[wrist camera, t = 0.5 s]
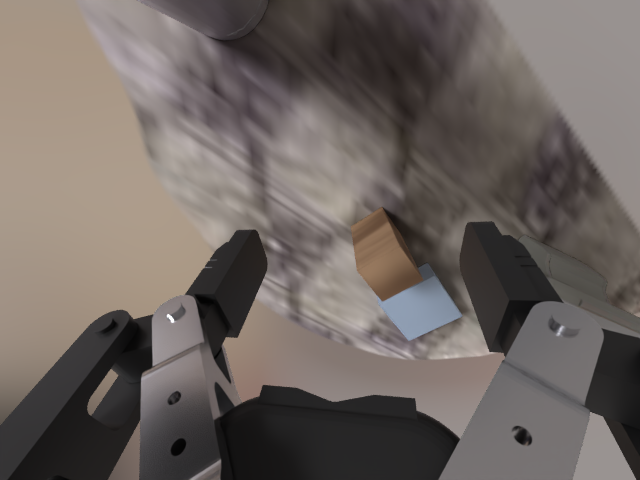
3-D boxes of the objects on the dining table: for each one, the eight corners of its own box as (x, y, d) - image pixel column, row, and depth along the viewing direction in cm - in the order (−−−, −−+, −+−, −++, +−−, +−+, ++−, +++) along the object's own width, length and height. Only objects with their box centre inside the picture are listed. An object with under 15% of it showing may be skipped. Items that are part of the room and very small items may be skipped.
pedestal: (375, 290, 39) (378, 304, 36) (427, 262, 37) (434, 275, 34) (403, 325, 42) (408, 340, 39) (453, 301, 39) (462, 316, 37)
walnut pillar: (350, 226, 35) (357, 270, 26) (381, 206, 33) (399, 246, 25) (370, 251, 36) (382, 301, 27) (400, 233, 35) (423, 280, 26)
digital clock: (461, 261, 37) (506, 319, 27) (520, 210, 33) (595, 255, 24) (538, 318, 40) (601, 386, 31) (598, 277, 37) (690, 340, 27)
